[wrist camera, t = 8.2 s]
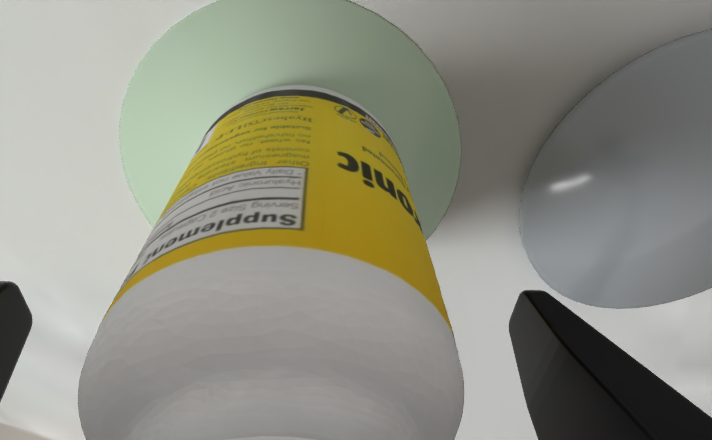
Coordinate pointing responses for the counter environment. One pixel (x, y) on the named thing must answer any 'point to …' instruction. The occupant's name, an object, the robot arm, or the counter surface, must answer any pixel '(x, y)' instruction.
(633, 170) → the slate coaster
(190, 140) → the sage coaster
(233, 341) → the supplement bottle
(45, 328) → the counter surface
